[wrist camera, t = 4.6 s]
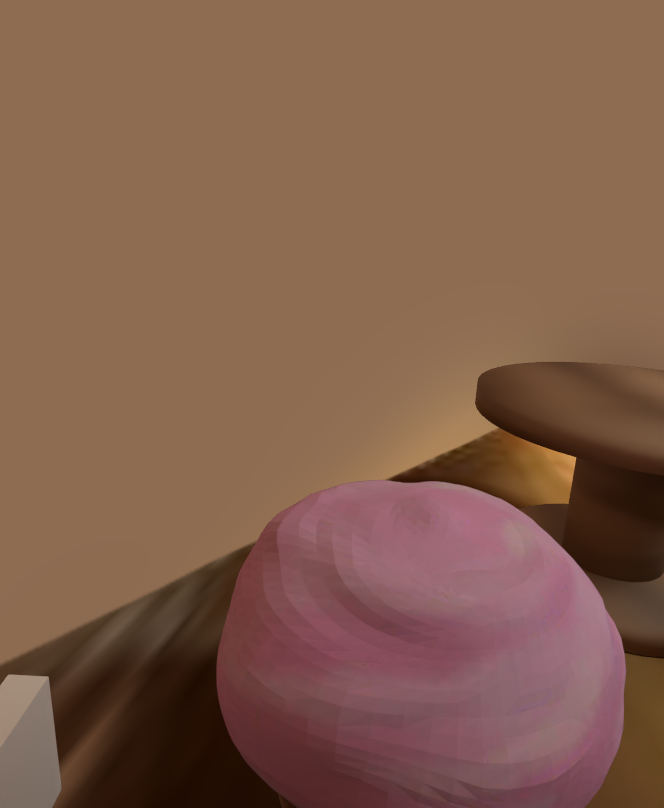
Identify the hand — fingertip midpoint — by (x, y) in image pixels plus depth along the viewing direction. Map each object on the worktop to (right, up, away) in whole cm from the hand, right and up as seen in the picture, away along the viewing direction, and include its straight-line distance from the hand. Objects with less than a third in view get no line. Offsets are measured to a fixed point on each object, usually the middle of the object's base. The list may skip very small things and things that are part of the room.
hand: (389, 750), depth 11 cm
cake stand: (+12, -2, +17) cm, 21 cm away
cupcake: (+1, -5, +4) cm, 7 cm away
